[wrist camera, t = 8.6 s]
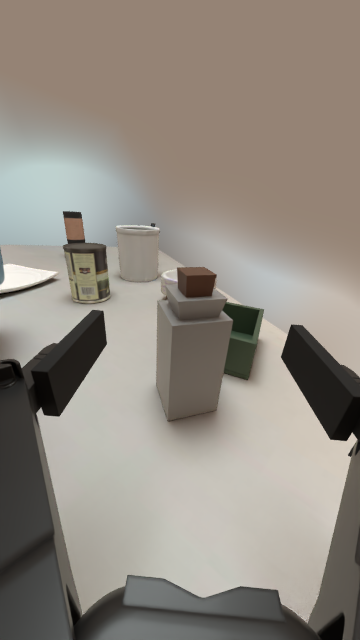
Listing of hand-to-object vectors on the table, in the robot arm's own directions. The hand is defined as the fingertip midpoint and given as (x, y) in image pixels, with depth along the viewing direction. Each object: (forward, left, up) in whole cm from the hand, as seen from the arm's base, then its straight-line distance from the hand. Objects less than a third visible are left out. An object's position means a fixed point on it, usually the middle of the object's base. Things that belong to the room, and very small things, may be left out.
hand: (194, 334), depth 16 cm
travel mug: (+69, +83, -16) cm, 109 cm away
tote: (+24, +2, -16) cm, 29 cm away
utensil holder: (+57, +41, -16) cm, 72 cm away
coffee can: (+32, +41, -16) cm, 55 cm away
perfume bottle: (+9, +3, -16) cm, 19 cm away
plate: (+27, +71, -16) cm, 78 cm away
